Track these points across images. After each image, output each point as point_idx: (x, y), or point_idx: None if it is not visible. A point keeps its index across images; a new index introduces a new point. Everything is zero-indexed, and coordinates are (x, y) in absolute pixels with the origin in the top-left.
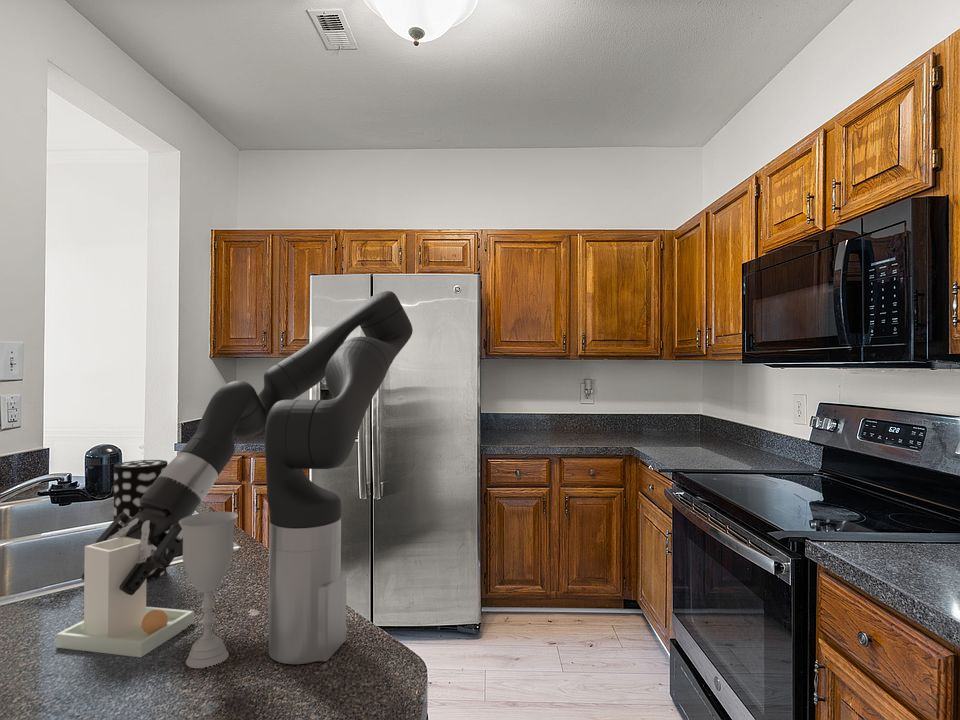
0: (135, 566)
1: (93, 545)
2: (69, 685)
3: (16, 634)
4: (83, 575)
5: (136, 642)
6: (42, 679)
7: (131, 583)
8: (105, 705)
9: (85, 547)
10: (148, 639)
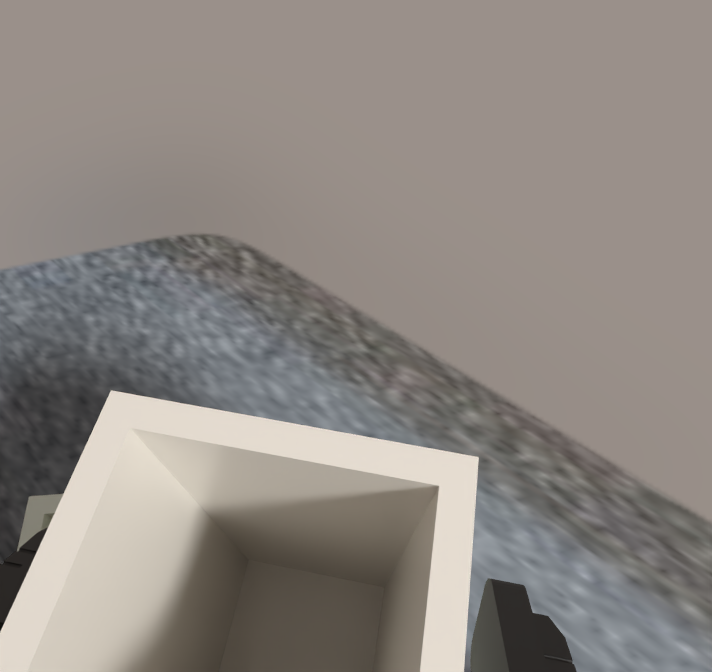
0: (14, 595)
1: (434, 514)
2: (167, 328)
3: (669, 522)
4: (510, 586)
5: (53, 498)
6: (268, 331)
7: (43, 532)
8: (2, 288)
9: (466, 460)
10: (21, 538)
